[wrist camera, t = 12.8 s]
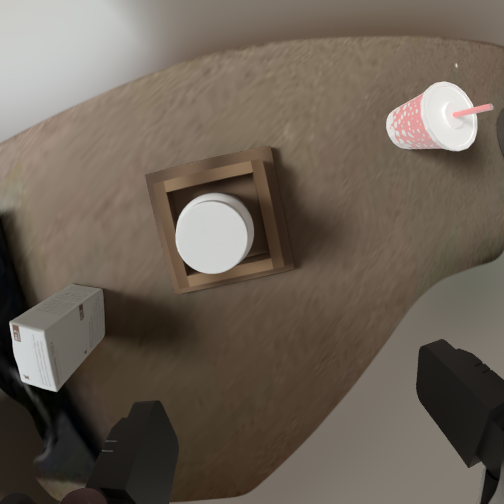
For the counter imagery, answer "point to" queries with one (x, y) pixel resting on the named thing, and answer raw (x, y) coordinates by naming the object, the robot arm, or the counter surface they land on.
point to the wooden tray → (240, 185)
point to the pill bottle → (214, 232)
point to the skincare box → (58, 335)
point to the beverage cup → (436, 120)
